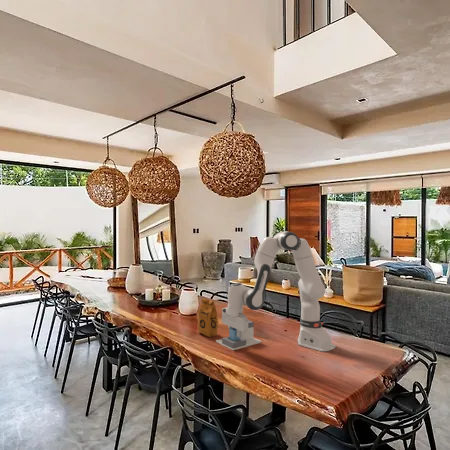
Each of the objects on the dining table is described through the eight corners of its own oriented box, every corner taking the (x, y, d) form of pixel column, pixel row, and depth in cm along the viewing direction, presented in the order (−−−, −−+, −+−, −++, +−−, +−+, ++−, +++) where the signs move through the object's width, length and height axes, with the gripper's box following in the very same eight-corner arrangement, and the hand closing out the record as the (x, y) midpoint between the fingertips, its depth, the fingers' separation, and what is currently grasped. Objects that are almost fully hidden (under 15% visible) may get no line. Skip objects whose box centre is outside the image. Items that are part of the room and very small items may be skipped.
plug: (239, 343, 198) (239, 327, 198) (233, 344, 195) (234, 329, 195) (234, 341, 201) (235, 325, 201) (229, 342, 199) (229, 327, 198)
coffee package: (207, 338, 209) (208, 302, 209) (195, 333, 219) (196, 298, 219) (220, 335, 216) (220, 300, 216) (208, 330, 225) (209, 296, 225)
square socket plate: (261, 342, 205) (261, 324, 205) (232, 350, 191) (233, 330, 191) (243, 335, 217) (244, 317, 217) (215, 341, 204) (216, 323, 204)
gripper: (251, 314, 192) (250, 339, 192) (228, 306, 208) (227, 329, 208) (242, 316, 188) (242, 341, 188) (220, 308, 204) (219, 331, 204)
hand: (234, 335), depth 198 cm, fingers closed on plug, 4 cm apart
